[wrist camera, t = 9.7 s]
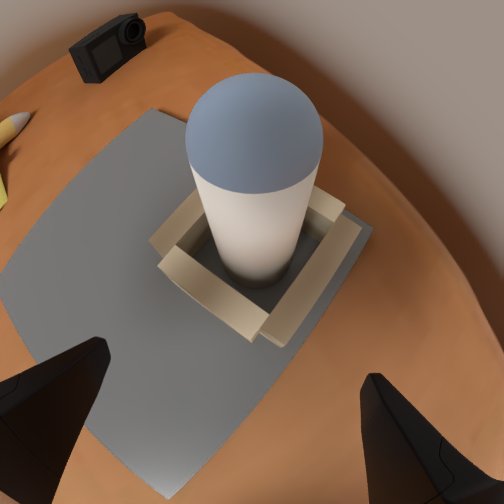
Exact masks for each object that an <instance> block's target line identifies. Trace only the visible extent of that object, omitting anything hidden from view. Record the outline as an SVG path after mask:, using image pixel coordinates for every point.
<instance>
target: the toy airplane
mask: <svg viewBox="0 0 504 504" xmlns="http://www.w3.org/2000/svg"><path fill="white" fill-rule="evenodd" d="M29 118H30V113H29V112H22V113H18V114H15V115H12V116H10V117H8V118H6V119H5V120H4V121H2V122H1V123H0V148H2V147H3V146H4V145H5V144H7V143H8V142H9V141H10V140H12V139H13V138H14V137H16V136H17V134H18V133H19V132H20V131H21V130H22V128H23V127H24V126H25V125H26V123H27V122H28V120H29ZM7 200H8V197H7V194H6V191H5V188H4V185H3V181H2V178H1V174H0V209H1V208H2V207H3V206H4V205H5V204H6V202H7Z"/></svg>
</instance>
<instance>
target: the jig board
mask: <svg viewBox="0 0 504 504" xmlns="http://www.w3.org/2000/svg"><path fill="white" fill-rule="evenodd" d="M186 127H187V123H185V122H183V121H180V120H178V119H176V118H174V117H171V116H169V115H167V114H164V113H162V112H160V111H157V110H155V109H153V108H151V109H149V110H148V111H147V112H145V113H144V114H143V115H142V116H140V117H139V118H138V119H137V120H136V121H134V122H133V123H132V124H131V125H130V126H128V127H127V128H126V129H125V130H124V131H122V132H121V133H120V134H119V135H118V136H117V137H116V138H115V139H113V140H112V141H111V142H110V143H109V144H108V145H107V146H106V147H105V148H104V149H103V150H101V151H100V152H99V153H98V154H97V155H96V156H95V157H94V158H93V159H92V160H91V161H90V162H89V163H88V164H87V165H86V166H85V167H84V168H83V169H82V170H81V171H80V172H79V173H78V174H77V175H76V176H75V177H74V179H73V180H72V181H71V182H70V183H69V184H68V185H67V186H66V187H65V188H64V189H63V191H62V192H61V193H60V194H59V195H58V196H57V197H56V199H55V200H54V201H53V202H52V203H51V205H50V206H49V207H48V208H47V209H46V211H45V212H44V213H43V214H42V216H41V217H40V218H39V219H38V221H37V222H36V223H35V224H34V226H33V227H32V228H31V230H30V231H29V232H28V234H27V235H26V237H25V238H24V239H23V241H22V242H21V244H20V245H19V246H18V248H17V249H16V251H15V252H14V254H13V255H12V257H11V258H10V260H9V261H8V263H7V264H6V266H5V268H4V269H3V271H2V272H1V274H0V298H1V300H2V302H3V305H4V307H5V309H6V311H7V313H8V315H9V317H10V319H11V321H12V322H13V324H14V326H15V328H16V330H17V332H18V333H19V335H20V337H21V339H22V340H23V342H24V344H25V345H26V347H27V349H28V350H29V352H30V354H31V355H32V357H33V358H34V360H35V362H36V363H37V364H40V363H42V362H44V361H46V360H48V359H50V358H52V357H54V356H56V355H58V354H60V353H62V352H64V351H66V350H68V349H70V348H72V347H74V346H76V345H78V344H80V343H82V342H84V341H86V340H88V339H90V338H92V337H94V336H98V337H102V338H104V339H106V341H107V344H108V347H109V350H110V354H111V361H110V364H109V367H108V369H107V372H106V374H105V377H104V380H103V383H102V385H101V388H100V391H99V393H98V396H97V398H96V400H95V402H94V404H93V406H92V408H91V410H90V412H89V415H88V417H87V419H86V421H85V423H84V425H85V426H86V427H87V429H88V430H89V431H90V432H91V433H92V434H93V435H94V436H95V437H96V438H97V439H98V440H99V441H100V442H101V443H102V444H103V445H104V446H105V447H106V448H107V449H108V450H109V451H110V452H111V453H112V454H113V455H114V456H115V457H116V458H117V459H118V460H120V461H121V462H122V463H123V464H124V465H125V466H126V467H127V468H129V469H130V470H131V471H132V472H133V473H134V474H136V475H137V476H138V477H139V478H140V479H142V480H143V481H144V482H145V483H147V484H148V485H149V486H151V487H152V488H153V489H154V490H156V491H157V492H158V493H160V494H161V495H163V496H164V497H165V498H167V499H168V500H169V499H170V498H171V497H172V496H173V495H174V494H175V493H176V492H177V491H178V490H180V489H181V488H182V487H183V486H184V485H185V484H186V483H187V482H188V481H189V480H190V479H191V478H192V477H193V476H194V475H195V474H196V473H197V472H198V471H199V470H200V469H201V468H202V467H203V465H204V464H205V463H206V462H207V461H208V460H209V459H210V458H211V457H212V456H213V455H214V454H215V453H216V452H217V451H218V449H219V448H220V447H221V446H222V445H223V444H224V443H225V442H226V441H227V439H228V438H229V437H230V436H231V435H232V434H233V433H234V431H235V430H236V429H237V428H238V427H239V426H240V424H241V423H242V422H243V421H244V420H245V419H246V417H247V416H248V415H249V414H250V413H251V411H252V410H253V409H254V408H255V406H256V405H257V404H258V403H259V401H260V400H261V399H262V398H263V396H264V395H265V394H266V393H267V391H268V390H269V389H270V388H271V386H272V385H273V384H274V382H275V381H276V380H277V378H278V377H279V376H280V374H281V373H282V372H283V370H284V369H285V368H286V366H287V365H288V364H289V362H290V361H291V360H292V358H293V357H294V355H295V354H296V353H297V351H298V350H299V348H300V347H301V346H302V344H303V343H304V341H305V340H306V338H307V337H308V336H309V334H310V333H311V331H312V330H313V328H314V327H315V325H316V324H317V322H318V321H319V319H320V318H321V316H322V315H323V313H324V312H325V310H326V309H327V307H328V306H329V304H330V303H331V301H332V299H333V298H334V296H335V295H336V293H337V291H338V290H339V288H340V287H341V285H342V283H343V282H344V280H345V278H346V277H347V275H348V274H349V272H350V270H351V268H352V267H353V265H354V263H355V262H356V260H357V258H358V257H359V255H360V253H361V251H362V250H363V248H364V246H365V244H366V242H367V241H368V239H369V237H370V235H371V233H372V232H373V230H374V228H373V227H372V226H370V225H369V224H367V223H366V222H364V221H363V220H361V219H360V218H358V217H356V216H355V215H353V214H352V213H350V212H349V211H347V210H346V209H344V210H343V212H342V215H344V216H345V217H347V218H348V219H350V220H351V221H353V222H354V223H356V224H357V225H359V226H360V227H362V229H361V231H360V232H359V234H358V236H357V237H356V239H355V241H354V242H353V244H352V246H351V247H350V249H349V251H348V252H347V254H346V256H345V257H344V259H343V261H342V262H341V264H340V265H339V267H338V269H337V270H336V272H335V273H334V275H333V277H332V278H331V280H330V281H329V283H328V284H327V286H326V287H325V289H324V290H323V292H322V294H321V295H320V297H319V298H318V300H317V301H316V303H315V304H314V306H313V307H312V309H311V310H310V311H309V313H308V314H307V316H306V317H305V319H304V320H303V322H302V323H301V325H300V326H299V327H298V329H297V330H296V332H295V333H294V334H293V336H292V337H291V339H290V340H289V341H288V343H287V344H286V345H285V346H283V347H282V348H280V347H279V346H277V345H276V344H274V343H273V342H272V341H270V340H269V339H267V338H266V337H264V336H263V335H262V334H259V335H258V337H257V338H256V339H255V341H254V342H253V343H251V342H249V341H248V340H247V339H245V338H244V337H243V336H241V335H240V334H239V333H237V332H236V331H234V330H233V329H232V328H230V327H229V326H228V325H226V324H225V323H224V322H223V321H221V320H220V319H219V318H217V317H216V316H215V315H213V314H212V313H211V312H210V311H208V310H207V309H206V308H204V307H203V306H202V305H201V304H199V303H198V302H197V301H196V300H194V299H193V298H192V297H191V296H189V295H188V294H187V293H186V292H184V291H183V290H182V289H181V288H180V287H178V286H177V285H176V284H175V283H173V282H172V281H171V280H170V279H169V278H168V277H167V275H166V274H165V273H164V272H163V271H162V270H161V269H160V268H159V267H158V264H159V263H160V262H161V261H162V260H163V258H162V257H161V255H160V254H159V253H158V252H157V251H156V249H155V248H154V247H153V246H152V245H151V243H150V242H149V241H148V240H149V239H150V238H151V237H152V235H153V234H154V233H155V232H156V231H157V230H158V229H159V228H160V227H161V225H162V224H163V223H164V222H165V221H166V220H167V219H168V218H169V217H170V216H171V214H172V213H173V212H174V211H175V210H176V209H177V208H178V207H179V206H180V205H181V204H182V203H183V202H184V201H185V200H186V199H187V197H188V196H189V195H190V194H191V193H192V192H193V191H194V190H195V189H196V188H197V185H196V182H195V179H194V176H193V173H192V169H191V166H190V163H189V160H188V156H187V152H186V145H185V133H186ZM319 244H320V242H319V241H317V240H316V239H314V238H313V237H311V236H310V235H308V234H307V233H305V232H303V231H302V230H300V234H299V237H298V240H297V244H296V247H295V250H294V254H293V257H292V260H291V264H290V267H289V269H288V271H287V273H286V274H285V275H284V277H283V278H282V279H281V280H279V281H278V282H277V283H275V284H273V285H271V286H268V287H265V288H257V289H255V288H248V287H244V286H242V285H240V284H238V283H236V282H235V281H233V280H232V279H231V278H230V277H229V276H228V274H227V273H226V271H225V269H224V267H223V264H222V261H221V258H220V255H219V252H218V249H217V246H216V243H215V241H214V238H213V235H212V236H211V237H210V238H209V240H208V241H207V242H206V243H205V244H204V245H203V247H202V248H201V249H200V250H199V251H198V252H197V254H196V255H195V256H194V257H193V259H194V260H196V261H197V262H198V263H200V264H201V265H202V266H204V267H205V268H206V269H208V270H209V271H210V272H212V273H213V274H214V275H216V276H217V277H218V278H220V279H221V280H222V281H224V282H225V283H227V284H228V285H229V286H231V287H232V288H233V289H235V290H236V291H237V292H239V293H240V294H242V295H243V296H244V297H246V298H247V299H249V300H250V301H251V302H253V303H254V304H255V305H257V306H258V307H260V308H261V309H262V310H264V311H265V312H267V313H268V314H270V313H271V312H272V311H273V309H274V308H275V307H276V305H277V304H278V303H279V301H280V300H281V298H282V297H283V296H284V294H285V293H286V291H287V290H288V289H289V287H290V286H291V285H292V283H293V282H294V280H295V279H296V278H297V276H298V275H299V273H300V272H301V270H302V269H303V268H304V266H305V265H306V263H307V262H308V260H309V259H310V258H311V256H312V255H313V253H314V252H315V250H316V249H317V247H318V246H319Z"/></svg>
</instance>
